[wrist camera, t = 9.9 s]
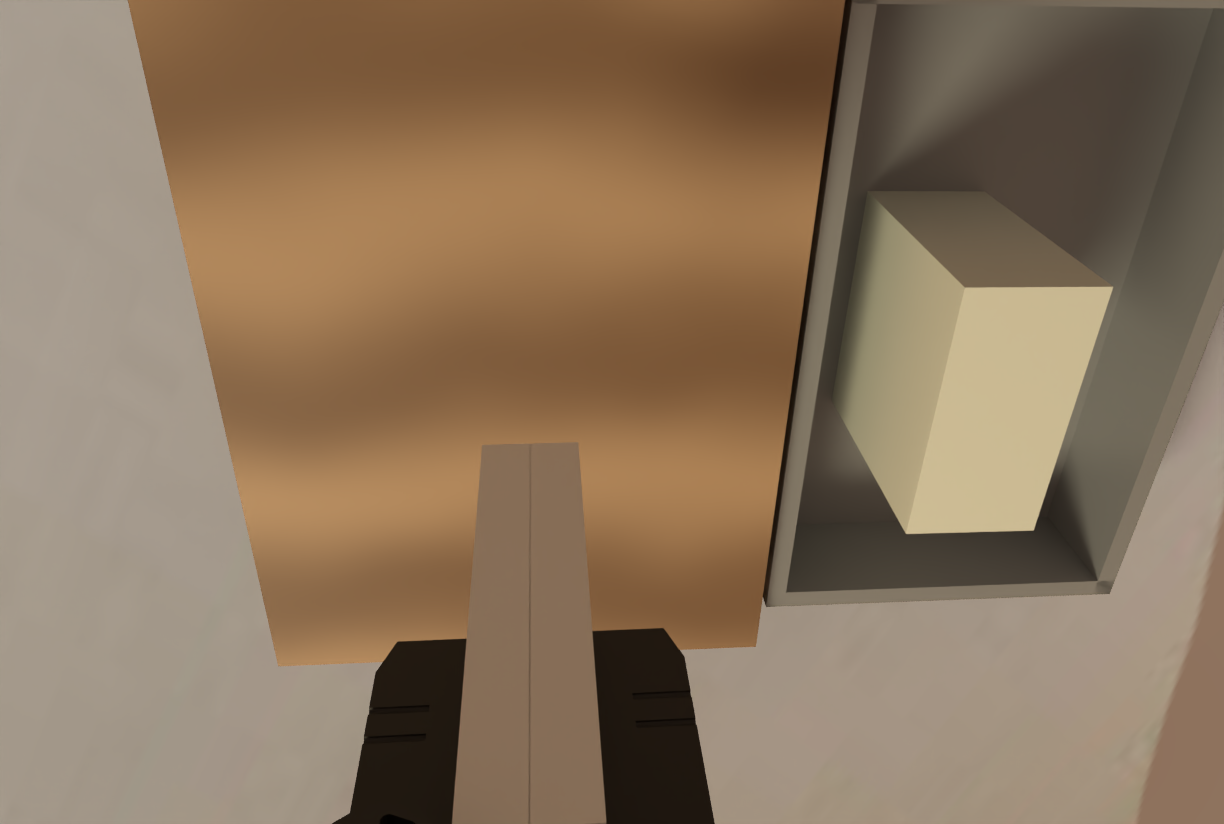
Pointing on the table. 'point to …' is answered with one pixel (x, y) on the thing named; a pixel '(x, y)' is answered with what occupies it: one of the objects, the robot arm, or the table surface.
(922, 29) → the tray
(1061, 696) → the table surface
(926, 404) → the block
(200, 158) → the board
